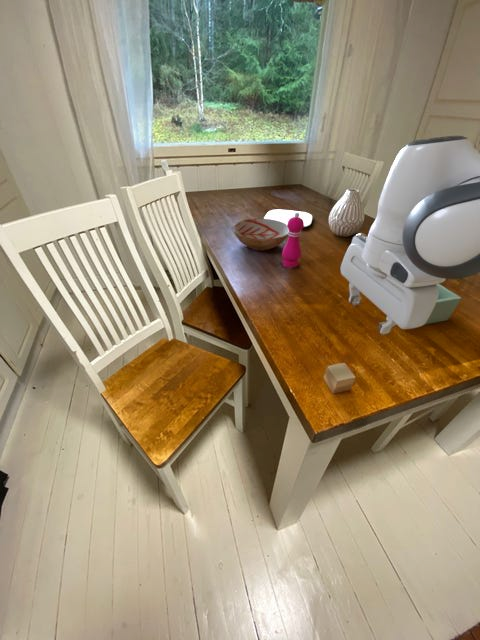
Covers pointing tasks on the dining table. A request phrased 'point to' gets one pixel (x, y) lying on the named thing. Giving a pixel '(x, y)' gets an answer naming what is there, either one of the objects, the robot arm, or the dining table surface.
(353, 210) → the vase
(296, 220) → the pepper mill
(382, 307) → the robot arm
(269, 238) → the bowl
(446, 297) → the box
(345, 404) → the dining table surface
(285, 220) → the plate
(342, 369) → the block
